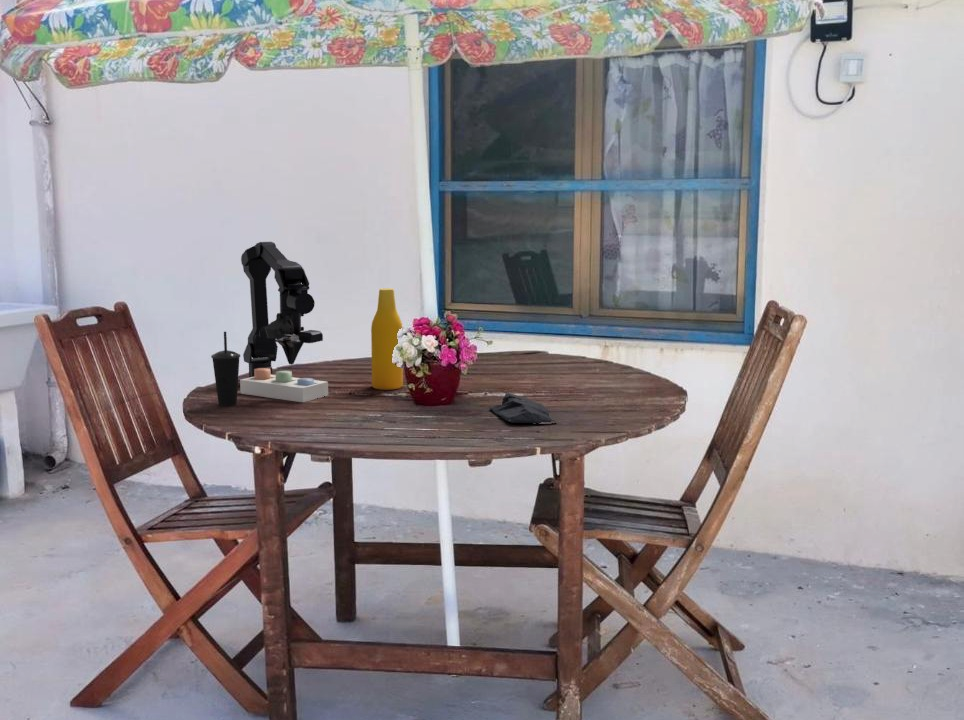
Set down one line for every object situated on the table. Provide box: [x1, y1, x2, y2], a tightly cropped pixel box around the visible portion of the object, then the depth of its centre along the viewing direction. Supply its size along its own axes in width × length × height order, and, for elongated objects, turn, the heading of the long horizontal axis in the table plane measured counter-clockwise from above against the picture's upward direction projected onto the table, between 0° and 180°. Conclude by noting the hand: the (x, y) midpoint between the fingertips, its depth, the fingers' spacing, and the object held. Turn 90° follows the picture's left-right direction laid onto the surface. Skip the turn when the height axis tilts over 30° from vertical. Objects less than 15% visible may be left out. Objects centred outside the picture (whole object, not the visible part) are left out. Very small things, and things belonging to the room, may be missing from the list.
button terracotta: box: [254, 368, 271, 380], centre depth 308 cm, size 5×5×5 cm
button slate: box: [297, 377, 315, 386], centre depth 300 cm, size 5×5×5 cm
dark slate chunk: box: [489, 392, 555, 424], centre depth 279 cm, size 15×22×5 cm
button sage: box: [274, 370, 293, 383], centre depth 304 cm, size 5×5×5 cm
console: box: [239, 373, 329, 403], centre depth 304 cm, size 23×11×4 cm, turn 59°
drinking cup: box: [210, 331, 241, 407], centre depth 289 cm, size 8×8×20 cm
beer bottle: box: [370, 288, 404, 391], centre depth 314 cm, size 9×9×29 cm
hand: (291, 364), depth 302 cm, fingers closed
